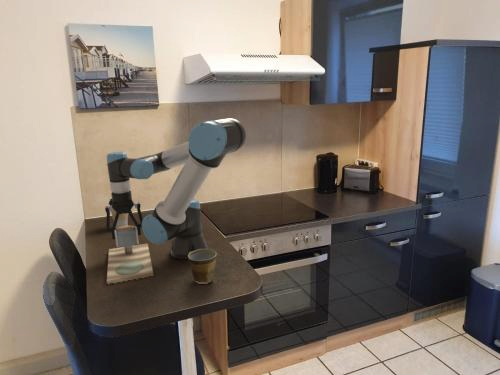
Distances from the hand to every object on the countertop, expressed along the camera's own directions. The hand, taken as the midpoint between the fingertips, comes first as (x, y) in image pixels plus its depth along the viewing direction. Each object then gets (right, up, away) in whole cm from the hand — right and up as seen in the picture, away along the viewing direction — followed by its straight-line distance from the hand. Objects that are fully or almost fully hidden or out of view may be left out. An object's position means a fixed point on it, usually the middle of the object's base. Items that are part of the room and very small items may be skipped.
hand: (127, 244), depth 158 cm
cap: (0, 0, 0) cm, 0 cm away
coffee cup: (-14, +3, +36) cm, 39 cm away
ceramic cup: (+33, -9, -21) cm, 41 cm away
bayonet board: (+3, -7, -6) cm, 10 cm away
